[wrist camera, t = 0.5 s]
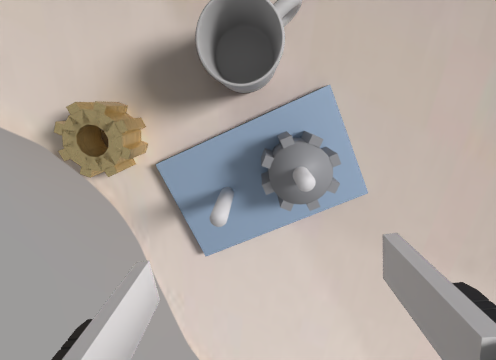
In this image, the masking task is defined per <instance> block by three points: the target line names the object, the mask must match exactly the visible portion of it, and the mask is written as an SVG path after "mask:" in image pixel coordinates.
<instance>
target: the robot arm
mask: <svg viewBox="0 0 496 360" xmlns="http://www.w3.org/2000/svg"><path fill="white" fill-rule="evenodd" d="M383 279H384V280H385V281H386V283H387V284H388V286H389V287H390V288H391V290H392V291H393V292H394V294H395V295H396V297H397V298H398V299H399V301H400V302H401V304H402V305H403V306H404V308H405V309H406V310H407V312H408V313H409V315H410V316H411V317H412V319H413V320H414V321H415V323H416V324H417V326H418V327H419V328H420V330H421V331H422V332H423V334H424V335H425V337H426V338H427V339H428V341H429V342H430V344H431V345H432V346H433V348H434V349H435V350H436V352H437V353H438V355H439V356H440V357H441V359H442V360H496V305H495V304H493V303H492V302H491V301H489V299H488V298H486V297H485V296H484V295H483V294H482V293H480V292H479V291H478V290H477V289H475V288H473V287H471V286H469V285H467V284H465V283H463V282H459V283H451V282H450V281H449V280H448V279H447V278H446V277H445V276H444V275H442V274H441V273H440V272H439V271H438V270H437V269H436V268H435V267H434V266H433V265H432V264H430V263H429V262H428V261H427V260H426V259H425V258H424V257H423V256H422V255H421V254H420V253H419V252H417V251H416V250H415V249H414V248H413V247H412V246H411V245H410V244H409V243H408V242H407V241H405V240H404V239H403V238H402V237H401V236H400V235H399V234H398V233H392V234H383ZM159 302H160V298H159V294H158V291H157V287H156V284H155V280H154V276H153V273H152V269H151V266H150V262H149V261H141V262H136V263H135V264H134V266H133V267H132V268H131V270H130V271H129V272H128V274H127V275H126V276H125V278H124V279H123V280H122V282H121V283H120V284H119V286H118V287H117V288H116V289H115V291H114V292H113V293H112V295H111V296H110V297H109V299H108V300H107V301H106V303H105V304H104V305H103V307H102V308H101V309H100V310H99V312H98V313H97V315H96V316H95V317H94V318H93V319H88V320H86V321H85V322H84V323H83V324H82V325H80V326H79V327H78V328H77V329H76V330H75V331H74V333H73V334H72V335H71V336H70V337H69V339H68V341H66V342H65V344H64V345H63V346H62V347H61V350H59V351H58V352H57V353H56V355H55V356H54V357H53V359H52V360H131V359H132V357H133V355H134V353H135V351H136V349H137V347H138V345H139V343H140V340H141V338H142V336H143V334H144V332H145V330H146V328H147V326H148V324H149V322H150V320H151V318H152V316H153V314H154V312H155V310H156V308H157V306H158V304H159Z"/></svg>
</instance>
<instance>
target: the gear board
mask: <svg viewBox="0 0 496 360" xmlns="http://www.w3.org/2000/svg"><path fill="white" fill-rule="evenodd" d="M156 166H157V168H158V170H159V172H160V174H161V176H162V177H163V179H164V181H165V183H166V185H167V186H168V188H169V190H170V192H171V194H172V196H173V197H174V199H175V201H176V203H177V205H178V207H179V208H180V210H181V212H182V214H183V216H184V218H185V219H186V221H187V223H188V225H189V227H190V229H191V230H192V232H193V234H194V236H195V238H196V239H197V241H198V243H199V245H200V247H201V249H202V250H203V252H204V254H205V256H208V255H211V254H214V253H216V252H219V251H221V250H224V249H226V248H229V247H231V246H234V245H237V244H239V243H242V242H244V241H247V240H249V239H252V238H254V237H257V236H260V235H262V234H265V233H267V232H270V231H272V230H275V229H278V228H280V227H283V226H285V225H288V224H290V223H293V222H295V221H298V220H301V219H303V218H306V217H308V216H311V215H313V214H316V213H318V212H321V211H324V210H326V209H329V208H331V207H334V206H336V205H339V204H341V203H344V202H347V201H349V200H352V199H354V198H357V197H359V196H362V195H365V194H367V193H368V191H367V188H366V185H365V183H364V180H363V177H362V174H361V171H360V168H359V166H358V163H357V160H356V157H355V154H354V151H353V149H352V146H351V143H350V140H349V137H348V134H347V131H346V129H345V126H344V123H343V120H342V117H341V114H340V112H339V109H338V106H337V103H336V100H335V97H334V95H333V92H332V89H331V86H330V85H327V86H325V87H323V88H321V89H318V90H316V91H314V92H312V93H310V94H308V95H305V96H303V97H301V98H299V99H297V100H294V101H292V102H290V103H288V104H286V105H284V106H281V107H279V108H277V109H275V110H273V111H270V112H268V113H266V114H264V115H262V116H260V117H257V118H255V119H253V120H251V121H249V122H246V123H244V124H242V125H240V126H238V127H236V128H233V129H231V130H229V131H227V132H225V133H223V134H220V135H218V136H216V137H214V138H212V139H209V140H207V141H205V142H203V143H201V144H199V145H196V146H194V147H192V148H190V149H188V150H185V151H183V152H181V153H179V154H177V155H175V156H172V157H170V158H168V159H166V160H164V161H161V162H159V163H158V164H156Z"/></svg>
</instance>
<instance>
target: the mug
mask: <svg viewBox="0 0 496 360" xmlns="http://www.w3.org/2000/svg"><path fill="white" fill-rule="evenodd" d="M301 4H302V0H277V1H276V2H275V3H274V4H272V3H271V2H270V1H269V0H211V1H210V2H209V3H208V4H207V5H206V6H205V8H204V9H203V11H202V13H201V15H200V17H199V20H198V23H197V27H196V35H195V37H196V48H197V52H198V55H199V58H200V61H201V62H202V64H203V66H204V67H205V69H206V70H207V72H208V73H209V74H210V75H211V76H212V77H213V78H215V79H216V80H217V81H219V82H220V83H222V84H224V85H225V86H226V87H227V88H229V89H231V90H233V91H236V92H240V93H250V92H254V91H257V90H259V89H261V88H262V87H264V86H265V85H266V84H267V83H268V82H269V81H270V79H271V78H272V76H273V75H274V73H275V70H276V68H277V66H278V64H279V62H280V59H281V57H282V54H283V50H284V43H285V33H284V26H286V25H287V24H288V23H289V22H290V21H291V20H292V18H293V17H294V16H295V15H296V13H297V12H298V10H299V9H300V7H301Z"/></svg>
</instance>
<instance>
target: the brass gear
mask: <svg viewBox="0 0 496 360" xmlns="http://www.w3.org/2000/svg"><path fill="white" fill-rule="evenodd" d="M66 108H67V109H68V111H69V113H70V114H71V115H69V116H68V118H67V120H66V121H58V122H56V123H55V128H54V133H57V134H59V135H62V140H63V147H64V149H62V150H60V151H58V152H59V154H60V155H61V157H62V159H63V160H64V161H67V160H72V161H74V162H75V163H77V164H78V165H80V166H81V170H80V174H82V175H84V176H87V177H90V178H91V177H93V176H95V175H98V174H100V173H102V172H105V173H106V174H107V176H108V177H110V176H112V175H114V174H116V173H118V172H121V171H123V170H125V169H127V168H129V167H131V166H133V165H135V164H136V163H135V161H134V159H133V158H134V157H136V156H139V155H141V154H143V153H146V150H147V146H148V143H145V142H143V141H141V131H140V130H141V129H143V128H145V127H146V126H145V124H144V122H143V120H142V118H132V117H131V116H129V115H128V114H127V113H126V110H127V105H124V104H122V103H119V102H97V101H95V102H75V103H73V104H71V105H69V106H67V107H66ZM102 130H104V132H105V134H106V135H107V137H108V146H109V147H107V146H106V145H105V143H104V142H103V140H102V136H101V131H102Z"/></svg>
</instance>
